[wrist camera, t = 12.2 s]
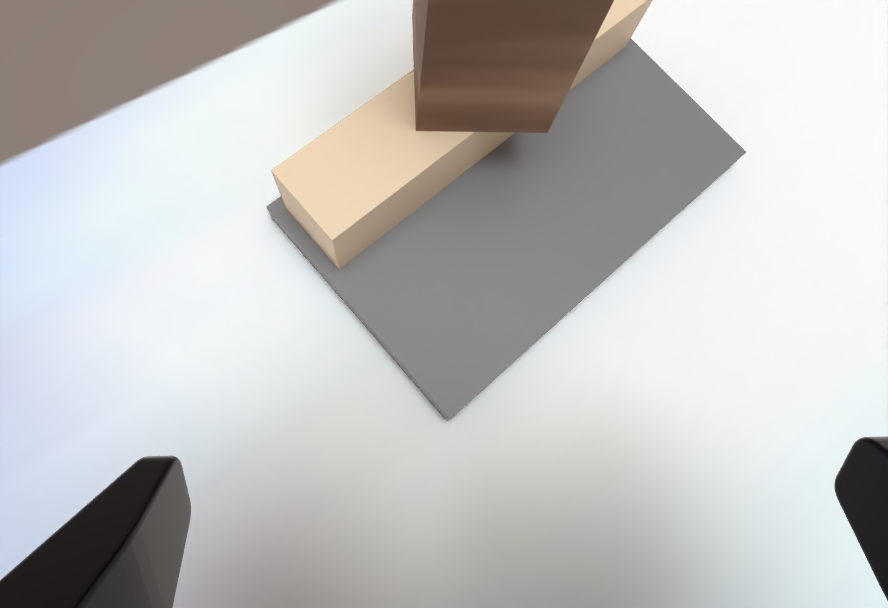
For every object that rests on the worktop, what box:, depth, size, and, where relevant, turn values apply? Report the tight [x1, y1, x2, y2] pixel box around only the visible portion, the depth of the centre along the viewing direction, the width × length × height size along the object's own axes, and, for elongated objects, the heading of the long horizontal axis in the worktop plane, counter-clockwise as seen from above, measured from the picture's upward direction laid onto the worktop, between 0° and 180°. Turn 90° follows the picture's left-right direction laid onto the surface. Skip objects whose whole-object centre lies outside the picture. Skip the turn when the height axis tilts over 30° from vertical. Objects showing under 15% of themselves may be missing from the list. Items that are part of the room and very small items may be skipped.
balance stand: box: [267, 0, 746, 421], centre depth 22 cm, size 10×16×4 cm, turn 131°
